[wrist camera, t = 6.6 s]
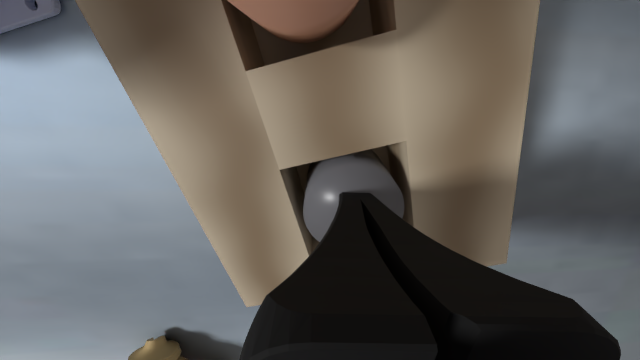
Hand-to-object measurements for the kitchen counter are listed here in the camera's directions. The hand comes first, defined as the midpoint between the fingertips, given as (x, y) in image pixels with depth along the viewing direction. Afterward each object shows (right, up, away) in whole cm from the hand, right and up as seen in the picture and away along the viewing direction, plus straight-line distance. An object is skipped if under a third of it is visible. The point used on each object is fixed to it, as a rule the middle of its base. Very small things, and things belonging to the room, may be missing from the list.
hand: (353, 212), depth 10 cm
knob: (0, +1, +3) cm, 3 cm away
